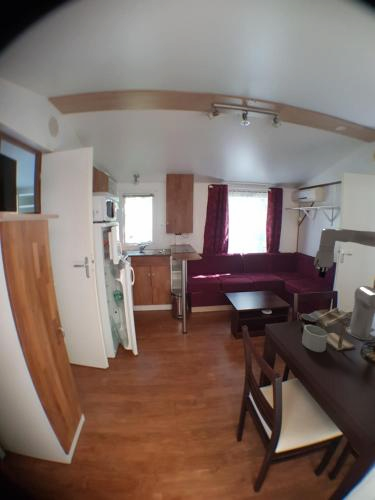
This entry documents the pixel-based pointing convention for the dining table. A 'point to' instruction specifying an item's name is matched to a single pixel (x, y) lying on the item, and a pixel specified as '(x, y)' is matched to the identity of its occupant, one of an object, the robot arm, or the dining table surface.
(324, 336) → the cup
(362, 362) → the dining table surface
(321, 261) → the robot arm
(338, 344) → the lever stand
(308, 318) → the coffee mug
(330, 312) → the tipping lever
